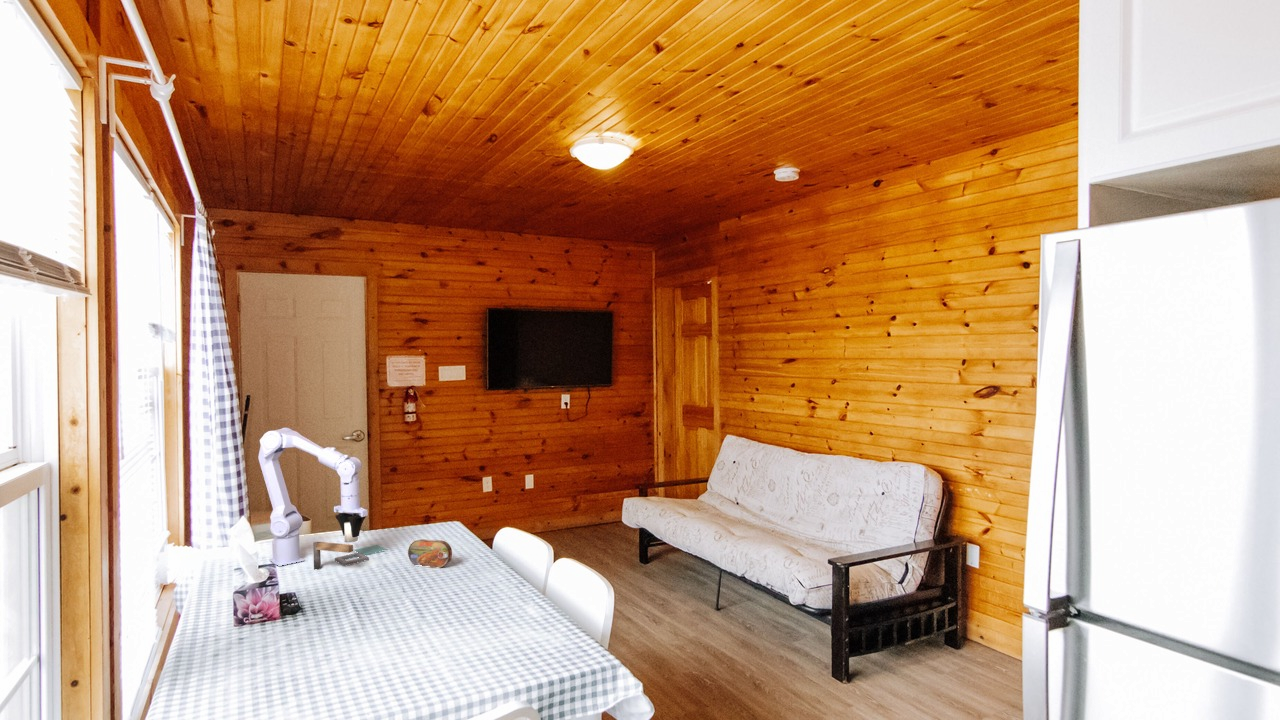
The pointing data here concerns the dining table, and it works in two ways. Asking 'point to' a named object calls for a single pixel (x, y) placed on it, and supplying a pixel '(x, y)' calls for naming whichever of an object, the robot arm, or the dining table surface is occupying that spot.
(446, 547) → the tin
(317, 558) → the retention bar
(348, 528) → the plug
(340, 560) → the socket plate
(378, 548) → the teal mat
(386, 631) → the dining table surface
